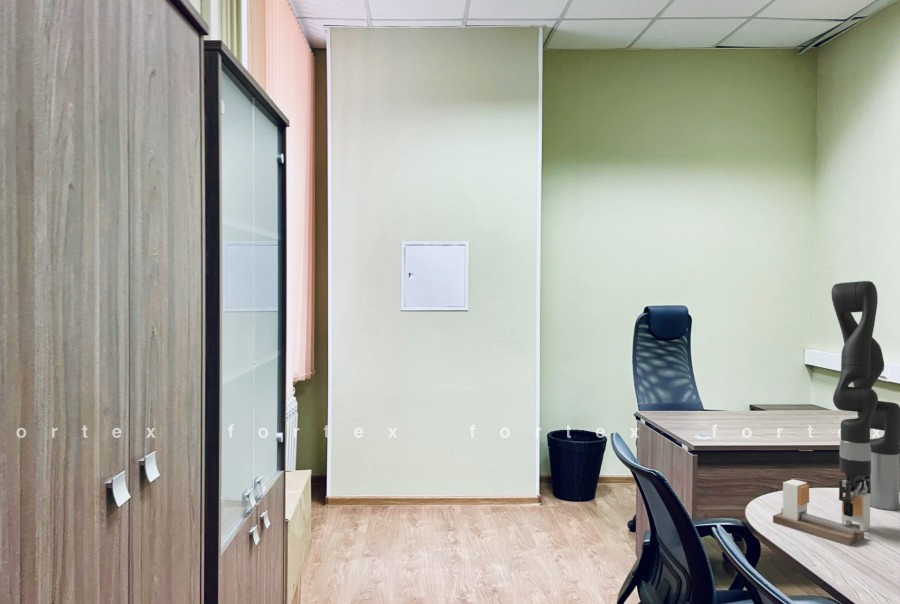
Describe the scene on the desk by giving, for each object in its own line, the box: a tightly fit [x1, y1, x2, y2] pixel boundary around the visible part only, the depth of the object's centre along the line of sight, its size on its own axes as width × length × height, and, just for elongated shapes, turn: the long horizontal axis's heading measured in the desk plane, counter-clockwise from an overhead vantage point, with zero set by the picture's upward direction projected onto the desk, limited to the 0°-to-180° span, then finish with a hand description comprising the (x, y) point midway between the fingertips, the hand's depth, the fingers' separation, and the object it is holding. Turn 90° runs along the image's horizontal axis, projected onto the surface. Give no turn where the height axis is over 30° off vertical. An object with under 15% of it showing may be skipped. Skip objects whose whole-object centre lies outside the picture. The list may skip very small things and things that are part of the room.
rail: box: [772, 478, 865, 547], centre depth 169 cm, size 9×20×12 cm, turn 34°
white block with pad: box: [841, 492, 871, 532], centre depth 171 cm, size 6×5×10 cm
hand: (855, 512), depth 171 cm, fingers open, 8 cm apart
